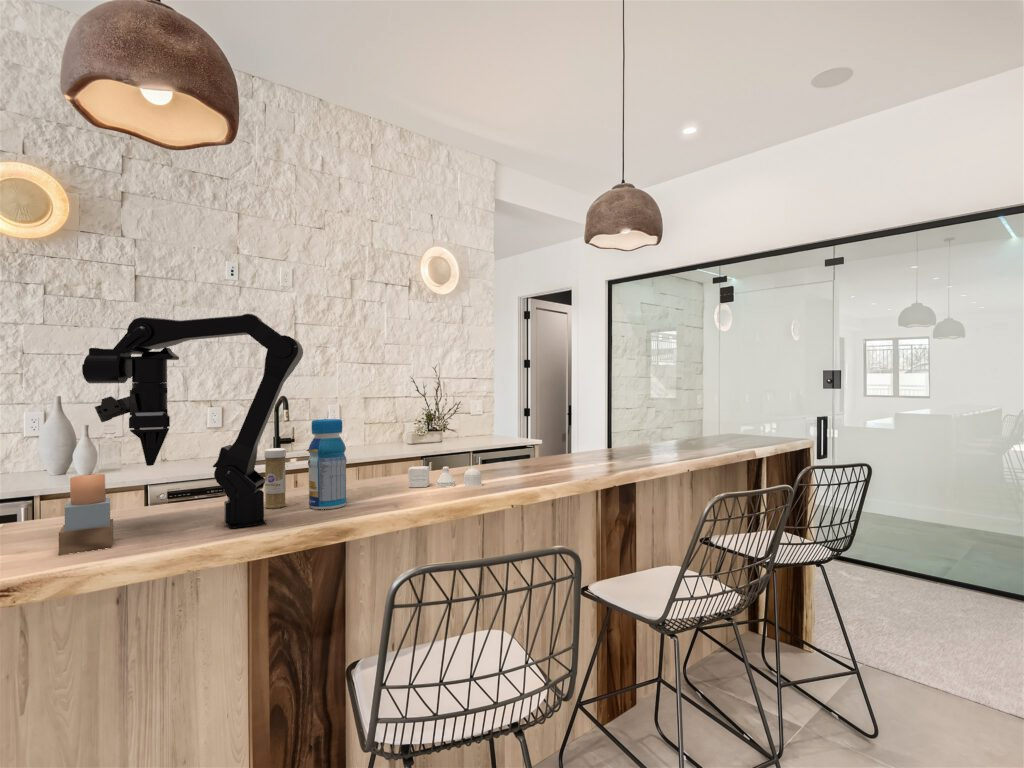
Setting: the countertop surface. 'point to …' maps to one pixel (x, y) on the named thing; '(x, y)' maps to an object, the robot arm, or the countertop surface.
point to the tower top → (87, 515)
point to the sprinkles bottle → (275, 477)
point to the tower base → (85, 539)
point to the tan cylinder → (87, 489)
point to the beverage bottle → (327, 465)
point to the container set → (441, 477)
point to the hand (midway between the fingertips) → (150, 463)
